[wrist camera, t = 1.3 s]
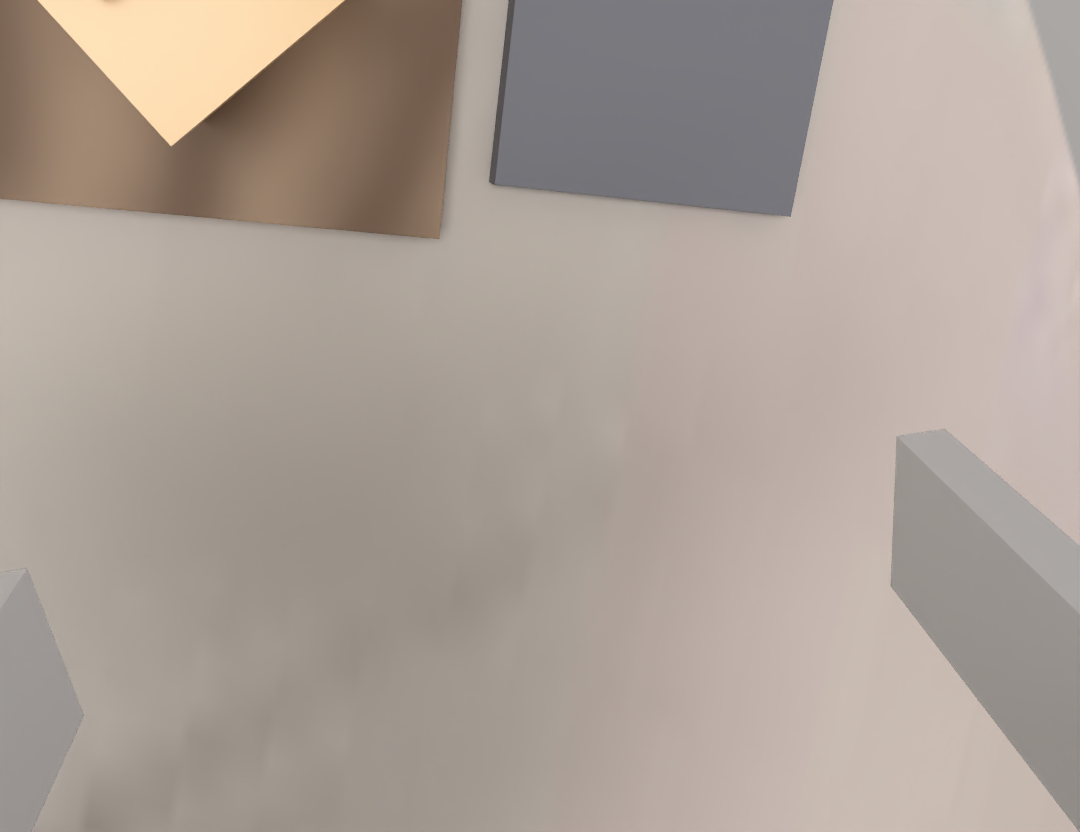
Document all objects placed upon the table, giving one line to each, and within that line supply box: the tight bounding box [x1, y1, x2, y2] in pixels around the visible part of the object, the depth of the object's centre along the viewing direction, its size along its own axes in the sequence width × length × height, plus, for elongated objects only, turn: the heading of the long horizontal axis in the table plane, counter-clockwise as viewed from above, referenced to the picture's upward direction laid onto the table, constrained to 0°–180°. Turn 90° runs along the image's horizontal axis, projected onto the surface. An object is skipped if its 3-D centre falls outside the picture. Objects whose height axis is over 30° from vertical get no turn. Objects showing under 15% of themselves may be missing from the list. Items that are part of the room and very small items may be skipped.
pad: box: [489, 0, 833, 217], centre depth 37 cm, size 12×12×1 cm
